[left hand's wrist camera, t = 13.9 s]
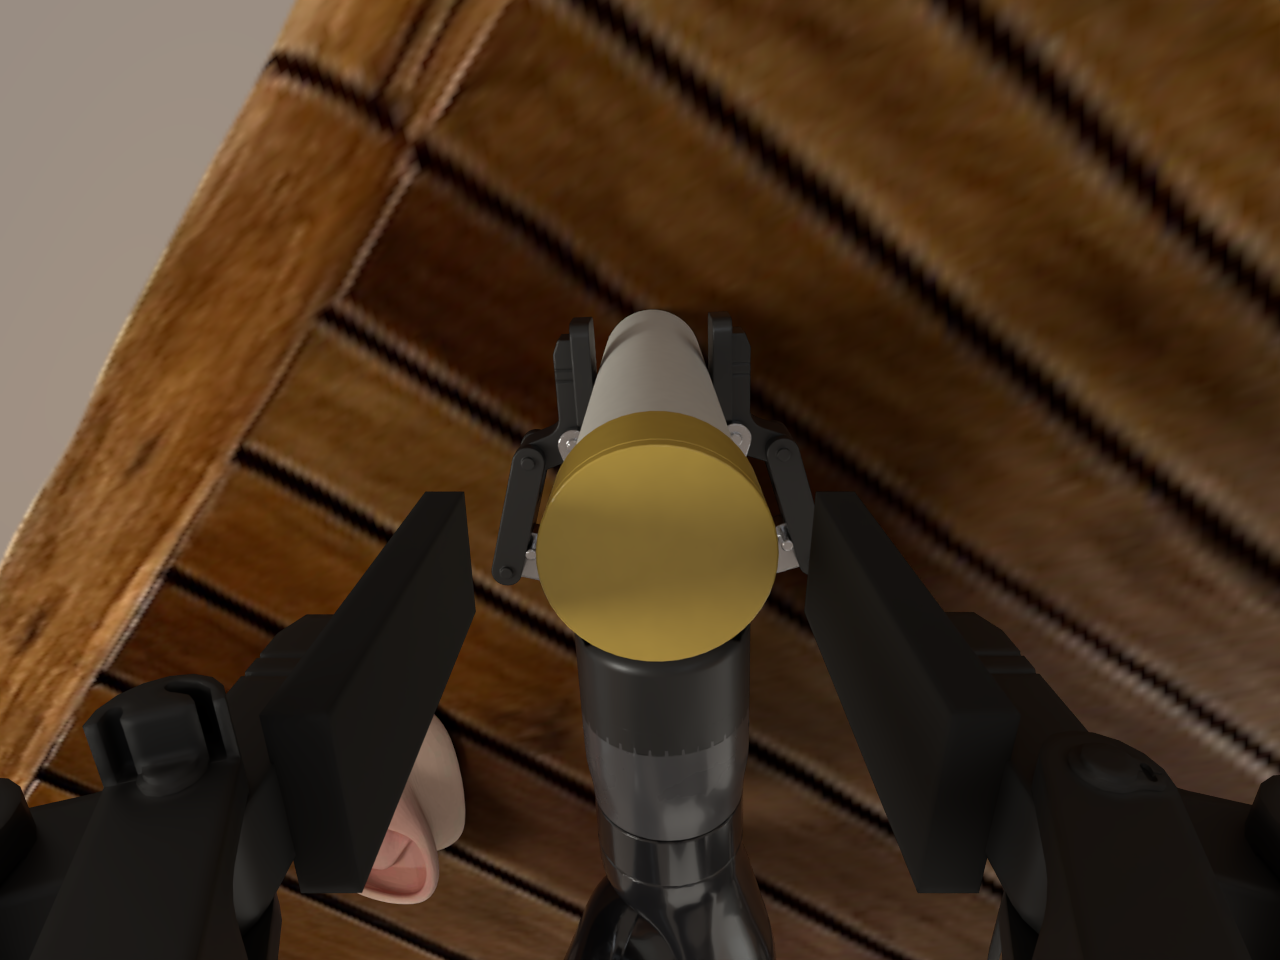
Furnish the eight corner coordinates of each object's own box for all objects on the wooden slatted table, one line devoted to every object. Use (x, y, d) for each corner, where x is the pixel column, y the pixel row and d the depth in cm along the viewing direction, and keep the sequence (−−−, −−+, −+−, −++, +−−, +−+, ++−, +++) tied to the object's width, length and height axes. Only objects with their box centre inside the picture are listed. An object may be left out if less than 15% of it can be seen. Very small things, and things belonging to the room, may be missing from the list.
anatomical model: (217, 710, 35) (450, 732, 36) (259, 662, 39) (468, 682, 39) (243, 901, 40) (447, 919, 40) (277, 842, 44) (464, 859, 44)
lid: (728, 381, 15) (742, 411, 13) (784, 571, 17) (804, 627, 15) (519, 447, 16) (497, 487, 14) (592, 625, 17) (583, 686, 15)
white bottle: (683, 296, 32) (731, 419, 14) (711, 387, 33) (787, 609, 15) (591, 327, 32) (517, 486, 14) (622, 415, 34) (592, 663, 16)
